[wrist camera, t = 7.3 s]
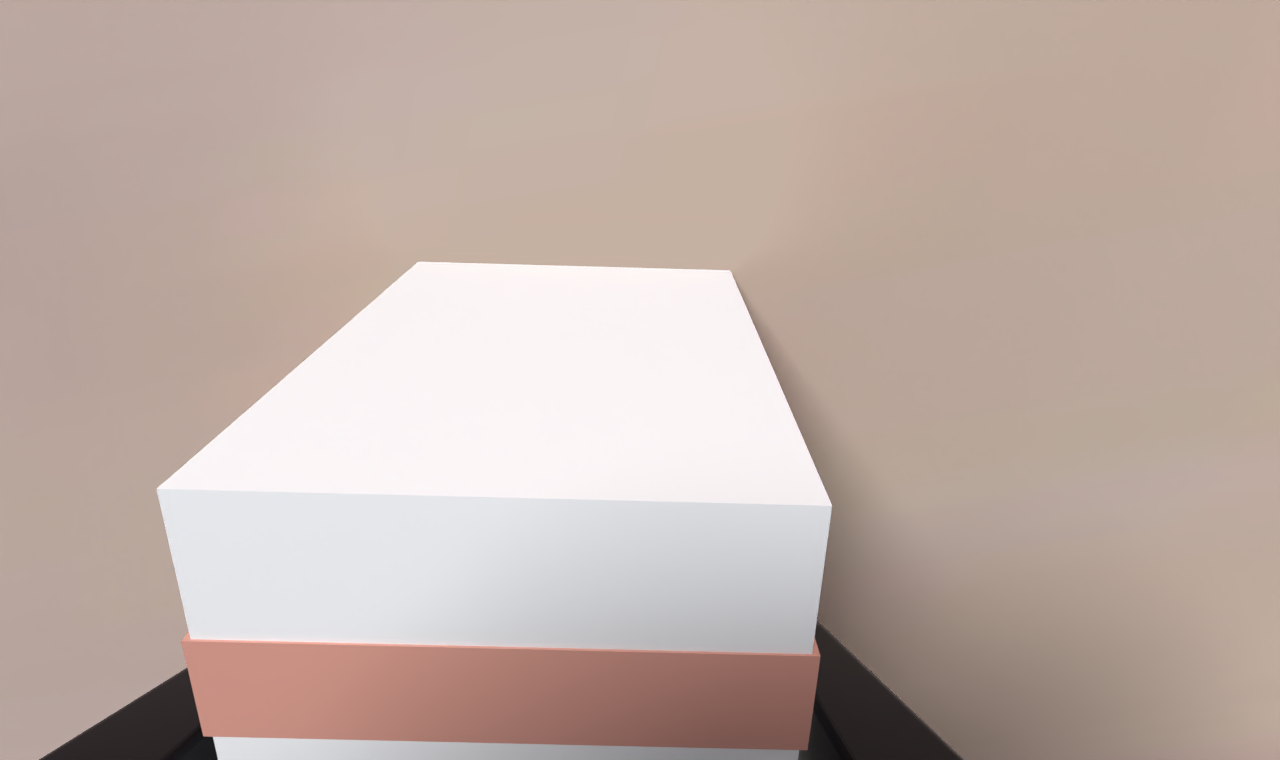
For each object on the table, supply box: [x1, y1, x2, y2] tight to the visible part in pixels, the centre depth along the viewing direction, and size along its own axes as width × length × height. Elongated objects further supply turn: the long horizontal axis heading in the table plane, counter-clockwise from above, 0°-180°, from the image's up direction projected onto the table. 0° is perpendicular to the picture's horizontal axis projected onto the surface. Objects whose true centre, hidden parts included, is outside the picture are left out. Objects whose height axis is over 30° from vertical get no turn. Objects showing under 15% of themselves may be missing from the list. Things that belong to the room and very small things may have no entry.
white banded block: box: [157, 262, 832, 760], centre depth 9 cm, size 7×4×6 cm, turn 178°
